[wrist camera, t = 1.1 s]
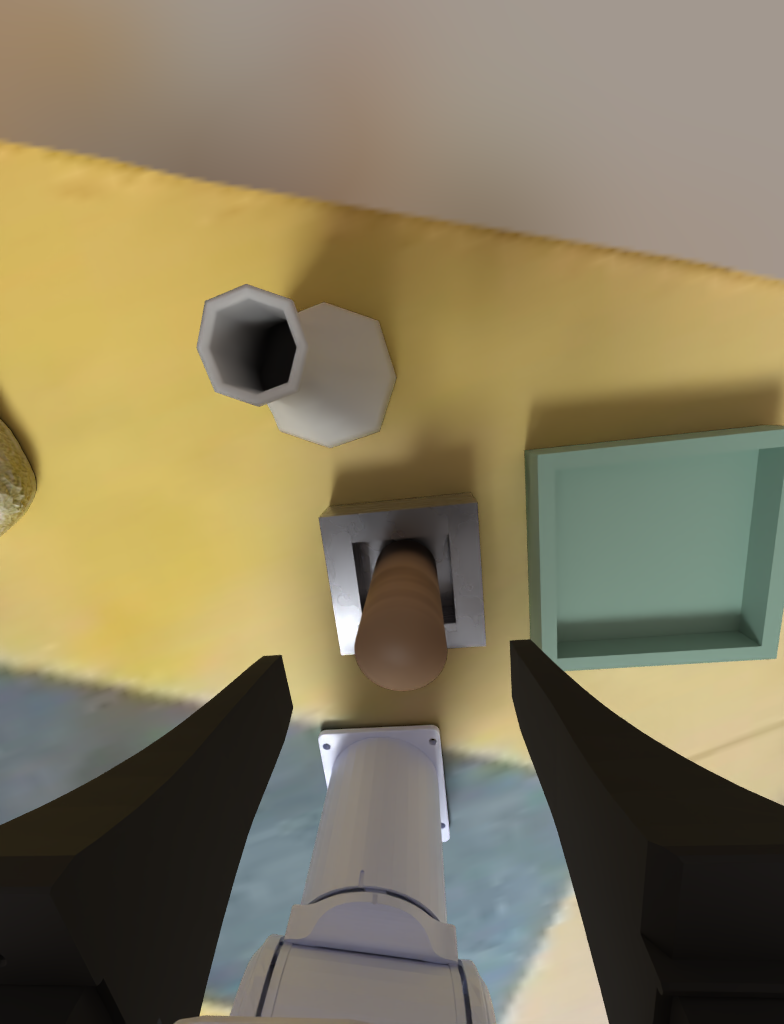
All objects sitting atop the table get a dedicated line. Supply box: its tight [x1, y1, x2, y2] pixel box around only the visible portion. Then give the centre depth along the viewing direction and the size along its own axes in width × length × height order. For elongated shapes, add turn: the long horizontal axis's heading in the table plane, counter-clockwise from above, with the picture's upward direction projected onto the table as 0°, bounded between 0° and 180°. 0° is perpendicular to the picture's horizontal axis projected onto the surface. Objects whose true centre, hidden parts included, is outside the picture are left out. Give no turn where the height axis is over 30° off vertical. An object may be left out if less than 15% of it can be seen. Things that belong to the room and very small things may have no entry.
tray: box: [525, 425, 784, 671], centre depth 21 cm, size 12×12×2 cm
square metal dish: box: [319, 493, 486, 655], centre depth 22 cm, size 8×8×2 cm
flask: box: [197, 284, 397, 448], centre depth 16 cm, size 7×7×10 cm
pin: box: [354, 540, 447, 691], centre depth 18 cm, size 4×4×8 cm
